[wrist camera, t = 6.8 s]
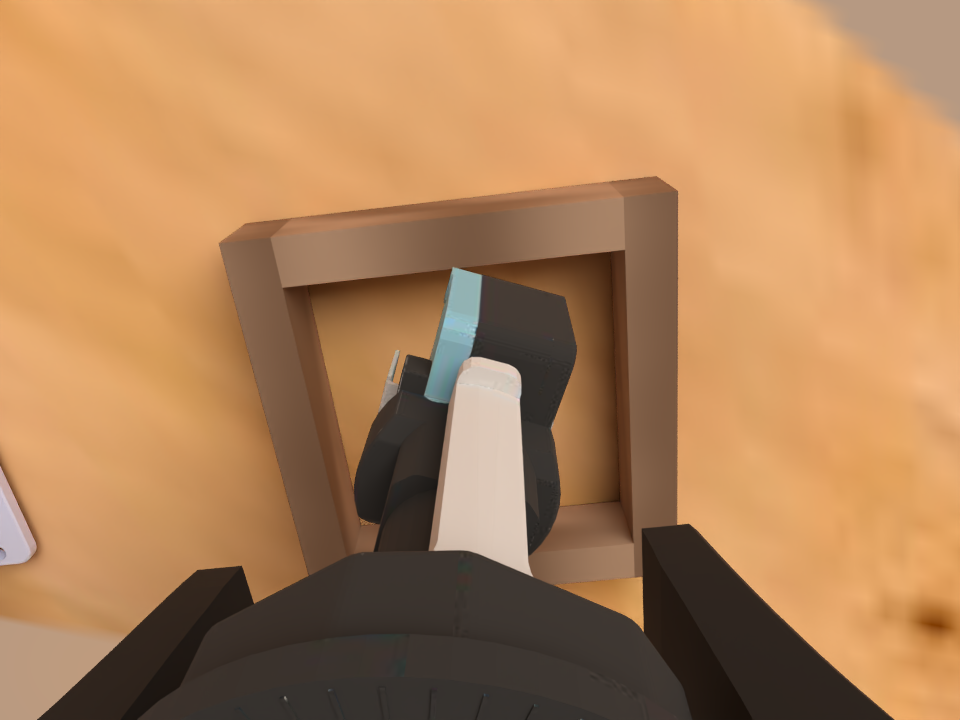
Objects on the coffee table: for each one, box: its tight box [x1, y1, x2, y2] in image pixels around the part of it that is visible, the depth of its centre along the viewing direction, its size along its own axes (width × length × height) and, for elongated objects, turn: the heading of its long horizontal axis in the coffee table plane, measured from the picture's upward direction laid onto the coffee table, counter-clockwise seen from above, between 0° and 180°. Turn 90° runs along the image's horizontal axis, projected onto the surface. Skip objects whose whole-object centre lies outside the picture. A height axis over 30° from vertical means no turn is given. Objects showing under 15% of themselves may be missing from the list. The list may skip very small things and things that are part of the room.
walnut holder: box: [219, 176, 678, 585], centre depth 19 cm, size 10×11×2 cm
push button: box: [137, 267, 692, 720], centre depth 9 cm, size 7×5×10 cm
